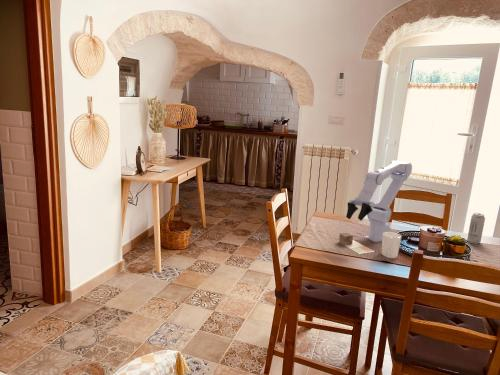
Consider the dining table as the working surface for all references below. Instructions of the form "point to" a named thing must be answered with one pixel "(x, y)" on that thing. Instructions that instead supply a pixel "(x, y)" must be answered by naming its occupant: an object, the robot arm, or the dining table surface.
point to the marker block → (346, 238)
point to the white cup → (391, 244)
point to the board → (359, 248)
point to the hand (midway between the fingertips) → (353, 218)
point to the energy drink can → (476, 228)
